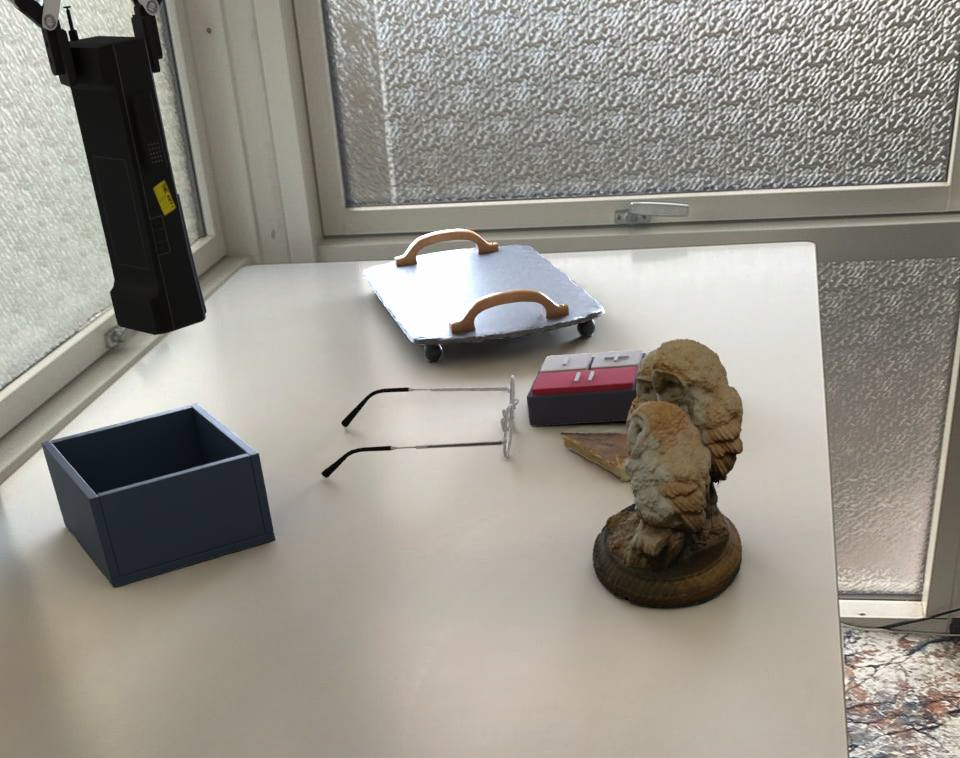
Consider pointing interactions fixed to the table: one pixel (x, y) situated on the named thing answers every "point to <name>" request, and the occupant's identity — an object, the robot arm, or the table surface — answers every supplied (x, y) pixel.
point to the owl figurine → (675, 483)
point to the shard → (601, 450)
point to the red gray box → (584, 388)
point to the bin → (159, 493)
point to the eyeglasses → (507, 415)
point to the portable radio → (134, 185)
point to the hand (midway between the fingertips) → (110, 75)
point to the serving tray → (478, 293)
